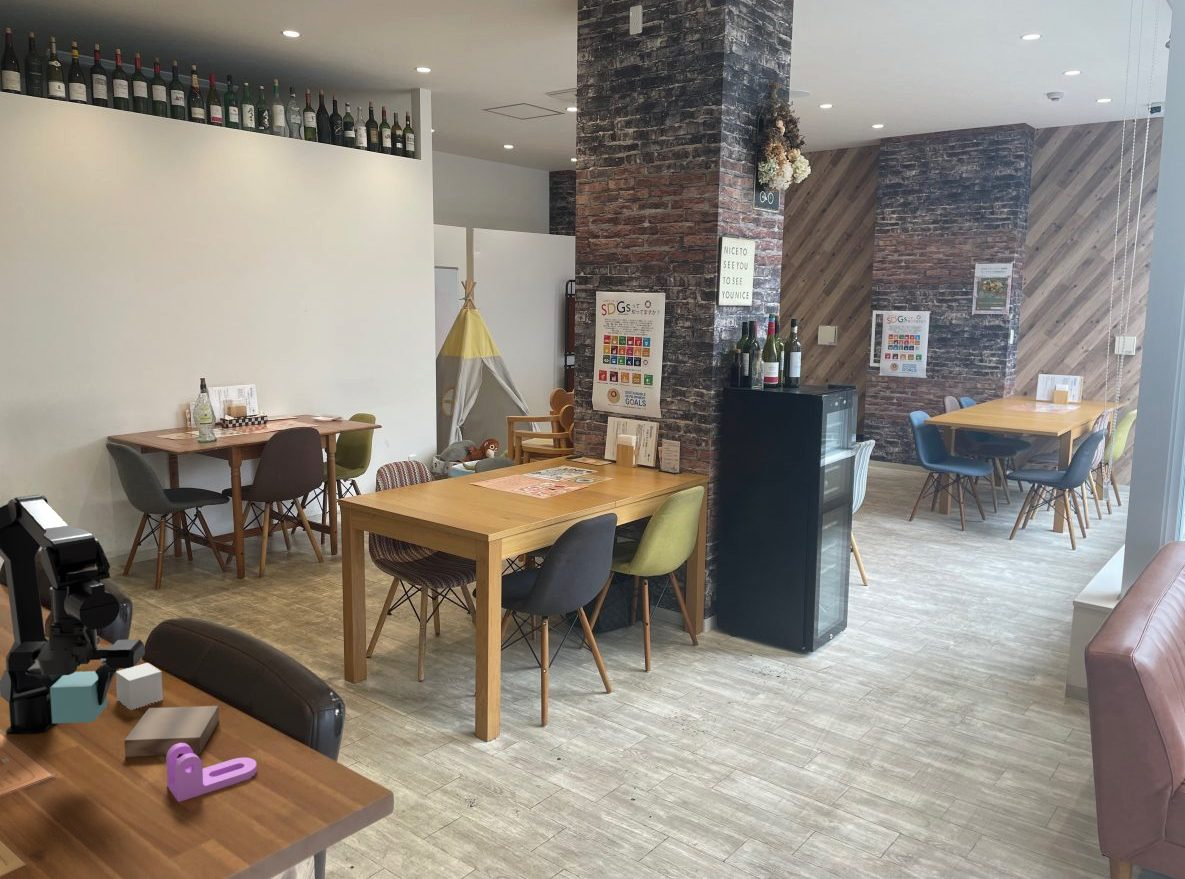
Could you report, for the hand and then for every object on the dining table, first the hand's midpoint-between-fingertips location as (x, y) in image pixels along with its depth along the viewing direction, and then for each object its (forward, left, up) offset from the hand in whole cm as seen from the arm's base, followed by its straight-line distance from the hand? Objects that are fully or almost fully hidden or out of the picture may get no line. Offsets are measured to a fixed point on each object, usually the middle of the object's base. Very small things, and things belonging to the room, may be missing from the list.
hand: (80, 705), depth 143 cm
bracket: (+22, -5, -12) cm, 25 cm away
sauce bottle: (-17, +35, -12) cm, 41 cm away
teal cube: (0, 0, -2) cm, 2 cm away
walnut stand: (+11, +10, -11) cm, 19 cm away
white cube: (0, +26, -12) cm, 29 cm away
